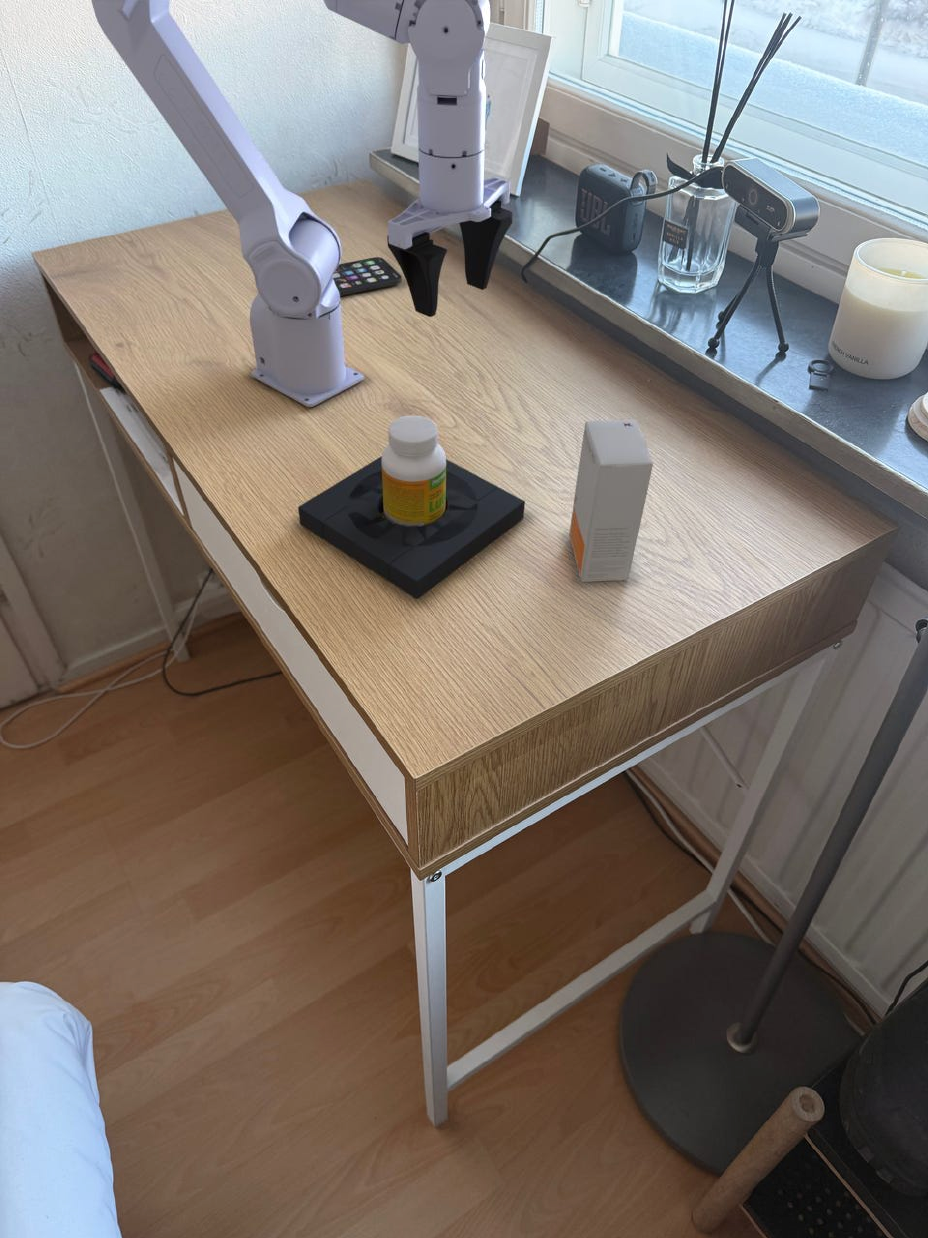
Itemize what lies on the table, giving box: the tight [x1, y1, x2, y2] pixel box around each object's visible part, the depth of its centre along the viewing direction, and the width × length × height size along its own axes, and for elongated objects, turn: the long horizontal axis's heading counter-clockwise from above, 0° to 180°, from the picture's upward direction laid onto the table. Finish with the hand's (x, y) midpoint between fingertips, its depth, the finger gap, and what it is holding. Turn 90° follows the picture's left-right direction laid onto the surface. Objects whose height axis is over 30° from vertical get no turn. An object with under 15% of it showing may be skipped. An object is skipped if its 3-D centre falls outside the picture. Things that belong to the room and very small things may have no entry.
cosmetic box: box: [568, 419, 654, 583], centre depth 70 cm, size 6×4×12 cm
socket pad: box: [297, 455, 526, 600], centre depth 76 cm, size 14×14×2 cm
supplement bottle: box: [381, 414, 447, 527], centre depth 73 cm, size 5×5×10 cm
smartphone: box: [332, 256, 403, 297], centre depth 109 cm, size 7×1×15 cm
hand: (451, 299), depth 84 cm, fingers open, 7 cm apart
